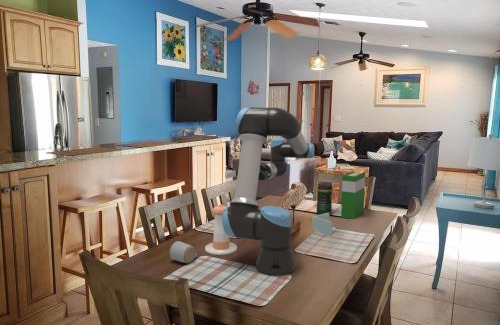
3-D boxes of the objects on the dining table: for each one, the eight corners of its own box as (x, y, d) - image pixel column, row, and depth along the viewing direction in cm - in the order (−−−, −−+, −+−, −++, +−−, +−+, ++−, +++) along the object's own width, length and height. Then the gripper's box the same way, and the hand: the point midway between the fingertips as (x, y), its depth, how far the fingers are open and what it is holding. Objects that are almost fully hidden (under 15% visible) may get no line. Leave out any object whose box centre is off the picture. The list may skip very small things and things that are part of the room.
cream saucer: (243, 249, 170) (243, 247, 170) (218, 257, 161) (218, 255, 161) (223, 241, 180) (223, 239, 180) (198, 248, 171) (198, 246, 171)
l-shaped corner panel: (330, 237, 187) (330, 222, 186) (311, 231, 197) (312, 216, 195) (346, 232, 195) (346, 217, 194) (327, 226, 204) (327, 212, 203)
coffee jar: (328, 216, 220) (329, 184, 217) (315, 215, 223) (315, 183, 221) (333, 212, 228) (334, 181, 226) (320, 211, 232) (320, 180, 229)
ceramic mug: (184, 266, 152) (184, 247, 151) (169, 262, 156) (169, 243, 155) (202, 258, 160) (201, 240, 160) (186, 254, 165) (186, 236, 164)
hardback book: (351, 210, 234) (352, 170, 230) (363, 212, 230) (365, 172, 226) (341, 217, 219) (342, 175, 216) (353, 219, 215) (355, 176, 212)
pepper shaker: (224, 251, 166) (223, 207, 163) (209, 248, 169) (209, 205, 166) (232, 245, 172) (232, 203, 169) (218, 243, 175) (218, 201, 173)
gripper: (286, 181, 185) (257, 188, 169) (247, 175, 201) (217, 181, 185) (286, 166, 184) (257, 172, 168) (247, 161, 200) (217, 166, 184)
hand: (236, 177), depth 177 cm, fingers open, 13 cm apart
